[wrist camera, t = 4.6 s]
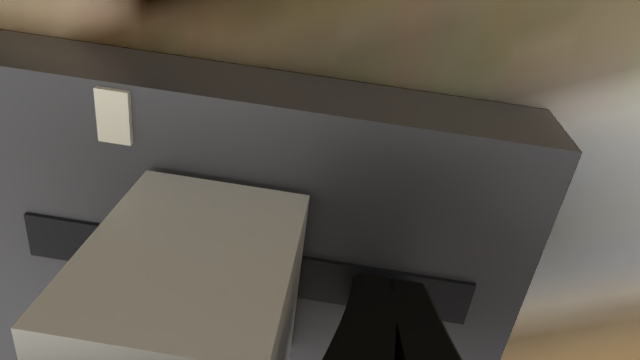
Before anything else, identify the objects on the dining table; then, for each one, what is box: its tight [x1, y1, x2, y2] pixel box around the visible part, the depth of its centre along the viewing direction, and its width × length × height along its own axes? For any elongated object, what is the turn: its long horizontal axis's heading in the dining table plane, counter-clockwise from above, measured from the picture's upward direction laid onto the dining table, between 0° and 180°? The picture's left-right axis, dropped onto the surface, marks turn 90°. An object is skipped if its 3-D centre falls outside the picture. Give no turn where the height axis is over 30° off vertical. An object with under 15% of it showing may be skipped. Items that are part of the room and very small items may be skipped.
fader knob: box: [11, 170, 310, 360], centre depth 9 cm, size 3×4×4 cm
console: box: [0, 30, 582, 360], centre depth 13 cm, size 17×14×2 cm
